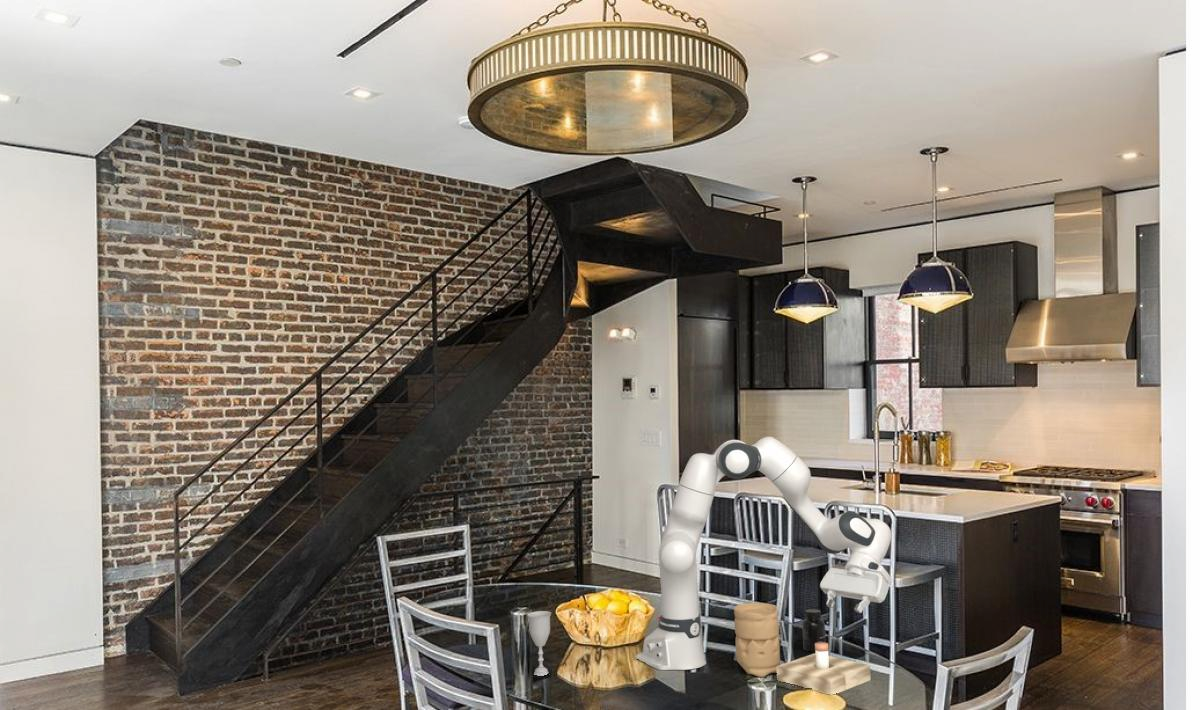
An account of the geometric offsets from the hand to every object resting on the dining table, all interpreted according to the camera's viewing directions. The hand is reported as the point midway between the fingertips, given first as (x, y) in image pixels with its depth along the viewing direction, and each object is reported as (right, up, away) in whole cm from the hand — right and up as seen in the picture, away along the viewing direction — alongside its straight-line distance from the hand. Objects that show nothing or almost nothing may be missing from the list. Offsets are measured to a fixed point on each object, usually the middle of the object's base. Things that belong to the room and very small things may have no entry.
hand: (843, 608), depth 256 cm
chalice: (-87, -21, +5) cm, 89 cm away
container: (-24, -19, +3) cm, 30 cm away
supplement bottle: (-3, -19, +22) cm, 29 cm away
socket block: (-8, -17, -8) cm, 21 cm away
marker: (-8, -18, -8) cm, 21 cm away
